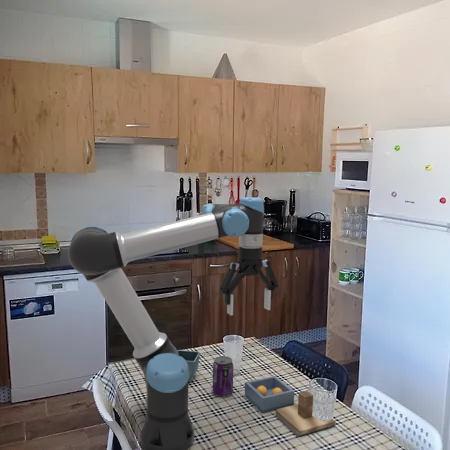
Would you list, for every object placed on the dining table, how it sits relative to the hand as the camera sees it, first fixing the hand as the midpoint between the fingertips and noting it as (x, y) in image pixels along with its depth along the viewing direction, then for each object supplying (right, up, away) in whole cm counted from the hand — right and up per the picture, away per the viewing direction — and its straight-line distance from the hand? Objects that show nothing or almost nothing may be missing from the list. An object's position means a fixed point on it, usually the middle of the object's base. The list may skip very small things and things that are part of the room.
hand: (248, 311), depth 145 cm
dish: (+7, -31, +7) cm, 33 cm away
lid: (+17, -32, -5) cm, 37 cm away
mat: (+17, -33, -5) cm, 37 cm away
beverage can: (-9, -31, +11) cm, 34 cm away
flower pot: (-22, -29, +21) cm, 42 cm away
